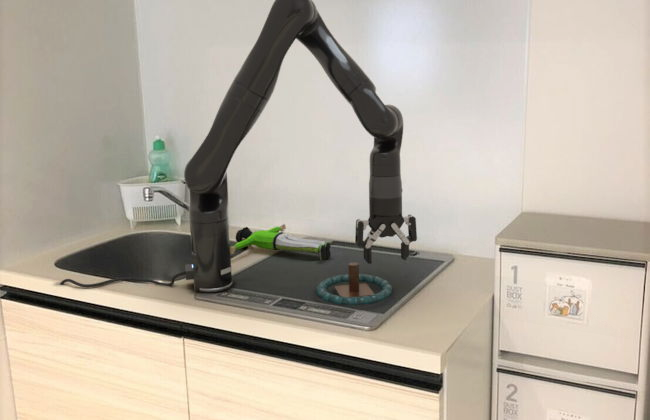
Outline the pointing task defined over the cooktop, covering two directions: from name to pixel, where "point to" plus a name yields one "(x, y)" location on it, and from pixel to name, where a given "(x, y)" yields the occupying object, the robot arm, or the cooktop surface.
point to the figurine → (280, 242)
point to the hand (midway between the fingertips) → (386, 260)
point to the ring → (373, 298)
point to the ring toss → (354, 284)
